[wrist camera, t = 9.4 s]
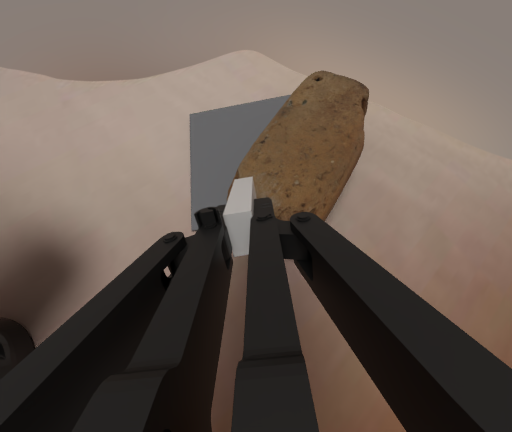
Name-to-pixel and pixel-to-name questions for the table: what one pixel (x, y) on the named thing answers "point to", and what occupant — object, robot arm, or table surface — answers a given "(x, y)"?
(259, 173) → the block
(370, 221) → the table surface
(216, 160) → the mat
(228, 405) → the table surface
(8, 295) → the table surface
